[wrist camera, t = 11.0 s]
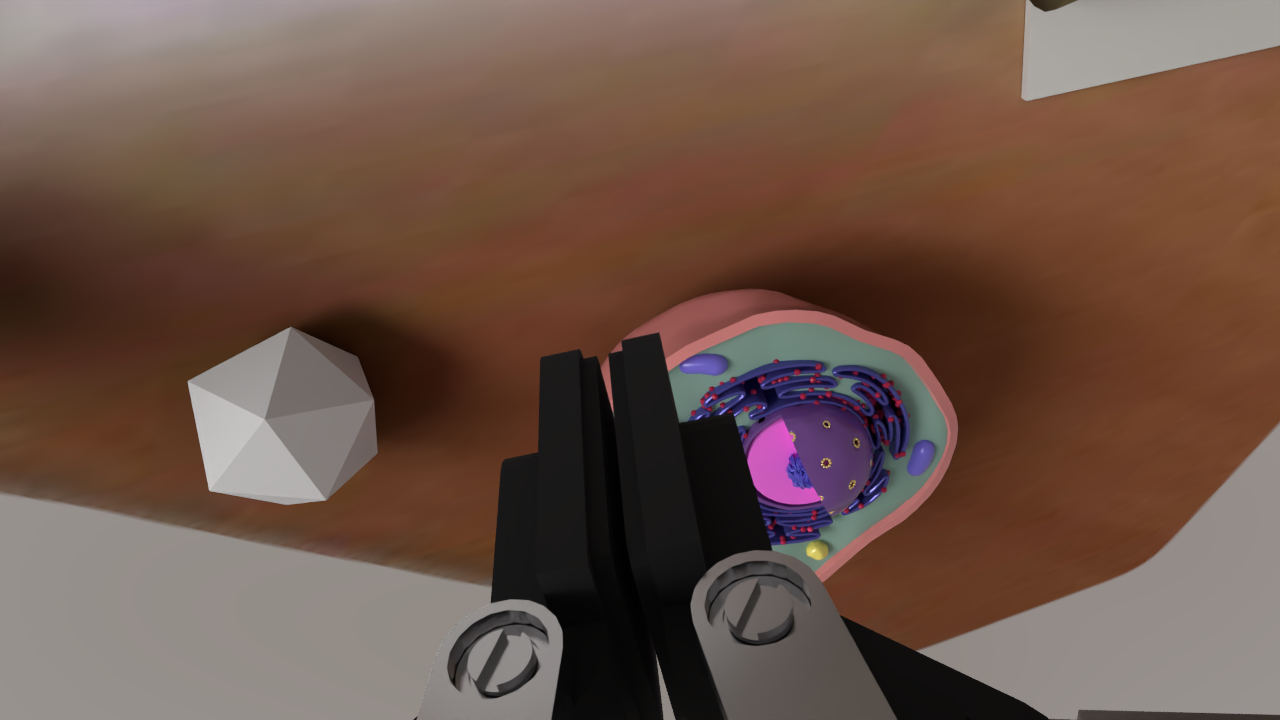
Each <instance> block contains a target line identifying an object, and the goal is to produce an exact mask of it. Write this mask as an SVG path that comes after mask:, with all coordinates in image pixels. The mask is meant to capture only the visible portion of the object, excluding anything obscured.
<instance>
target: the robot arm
mask: <svg viewBox="0 0 1280 720" xmlns="http://www.w3.org/2000/svg"><path fill="white" fill-rule="evenodd" d="M621 344H622V351H618V352H613V353H609V354H608V358H609V368H610V378H611V389H612V399H613V410H614V415H613V412H612V408H611V404H610V400H609V397H608V393H607V389H606V386H605V382H604V378H603V375H602V371H601V367H600V364H599V361H598V358H597V356H594V357H590V358H585V359H584V358H583V355H582V353H581V351H580V349H577V350H573V351H568V352H563V353H559V354H554V355H549V356H545V357H542V358H541V360H540V397H539V442H538V453H533V454H528V455H523V456H519V457H514V458H509V459H505V460H504V461H503V462H502V467H501V475H500V488H499V501H498V515H497V528H496V541H495V554H494V567H493V581H492V595H491V604H489V605H487V606H484V607H483V608H480V609H478V610H476V611H474V612H472V613H471V614H469V615H468V616H467V617H465V618H464V619H463V620H461V621H460V622H459V623H458V624H456V625H455V627H454V628H453V629H452V630H451V632H450V633H449V634H448V635H447V636H446V637H445V639H444V640H443V642H442V644H441V646H440V648H439V650H438V653H437V655H436V657H435V660H434V664H433V667H432V670H431V673H430V677H429V680H428V684H427V687H426V691H425V694H424V697H423V700H422V704H421V707H420V710H419V714H418V716H417V717H416V718H415V719H414V720H663V710H662V703H661V693H660V685H659V676H658V668H657V659H656V655H657V658H658V661H659V665H660V668H661V672H662V675H663V678H664V682H665V685H666V688H667V692H668V695H669V699H670V702H671V706H672V709H673V712H674V716H675V719H676V720H1068V719H1048V718H1047V717H1046V716H1044V715H1043V714H1041V713H1040V712H1038V711H1037V710H1035V709H1034V708H1032V707H1030V706H1029V705H1027V704H1026V703H1024V702H1021V701H1020V700H1018V699H1015V698H1013V697H1011V696H1009V695H1007V694H1005V693H1003V692H1001V691H999V690H996V689H994V688H992V687H990V686H988V685H986V684H984V683H982V682H980V681H978V680H975V679H973V678H971V677H969V676H967V675H965V674H963V673H961V672H959V671H956V670H954V669H952V668H950V667H948V666H946V665H944V664H942V663H939V662H938V661H935V660H933V659H931V658H929V657H927V656H925V655H923V654H920V653H919V652H917V651H914V650H912V649H910V648H908V647H906V646H904V645H902V644H900V643H898V642H895V641H893V640H891V639H889V638H887V637H885V636H883V635H881V634H879V633H876V632H874V631H872V630H870V629H868V628H866V627H864V626H862V625H860V624H858V623H855V622H853V621H851V620H849V619H847V618H845V617H843V616H841V615H839V613H838V611H837V609H836V607H835V606H834V604H833V602H832V600H831V598H830V596H829V595H828V593H827V591H826V589H825V587H824V586H823V584H822V582H821V580H820V579H819V578H818V577H817V575H816V574H815V573H814V572H813V570H812V569H811V568H810V567H809V566H808V565H806V564H805V563H803V562H801V561H800V560H798V559H797V558H795V557H793V556H790V555H787V554H783V553H780V552H777V551H773V550H772V546H771V543H770V539H769V536H768V532H767V529H766V525H765V522H764V518H763V515H762V511H761V508H760V504H759V501H758V497H757V494H756V490H755V487H754V483H753V480H752V476H751V473H750V469H749V466H748V462H747V458H746V455H745V451H744V448H743V444H742V441H741V437H740V434H739V430H738V427H737V423H736V420H735V417H734V414H733V412H730V413H726V414H721V415H716V416H711V417H706V418H701V419H697V420H692V421H687V422H682V423H679V419H678V414H677V410H676V405H675V401H674V396H673V392H672V387H671V382H670V378H669V373H668V369H667V364H666V360H665V355H664V350H663V346H662V341H661V337H660V333H659V332H658V333H653V334H648V335H643V336H639V337H634V338H629V339H625V340H622V341H621ZM1077 720H1280V715H1262V714H1261V715H1260V714H1221V713H1183V712H1144V711H1142V712H1141V711H1105V710H1079V711H1078V717H1077Z"/></svg>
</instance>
